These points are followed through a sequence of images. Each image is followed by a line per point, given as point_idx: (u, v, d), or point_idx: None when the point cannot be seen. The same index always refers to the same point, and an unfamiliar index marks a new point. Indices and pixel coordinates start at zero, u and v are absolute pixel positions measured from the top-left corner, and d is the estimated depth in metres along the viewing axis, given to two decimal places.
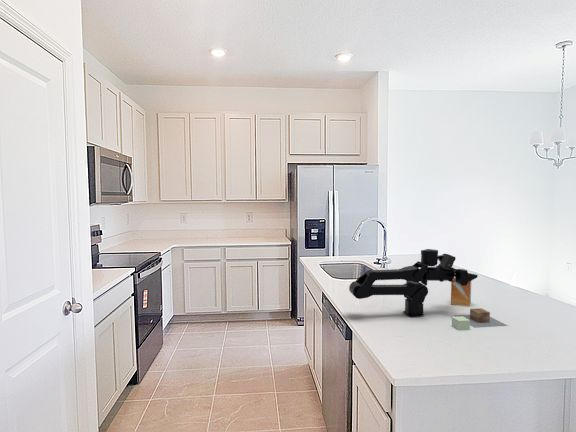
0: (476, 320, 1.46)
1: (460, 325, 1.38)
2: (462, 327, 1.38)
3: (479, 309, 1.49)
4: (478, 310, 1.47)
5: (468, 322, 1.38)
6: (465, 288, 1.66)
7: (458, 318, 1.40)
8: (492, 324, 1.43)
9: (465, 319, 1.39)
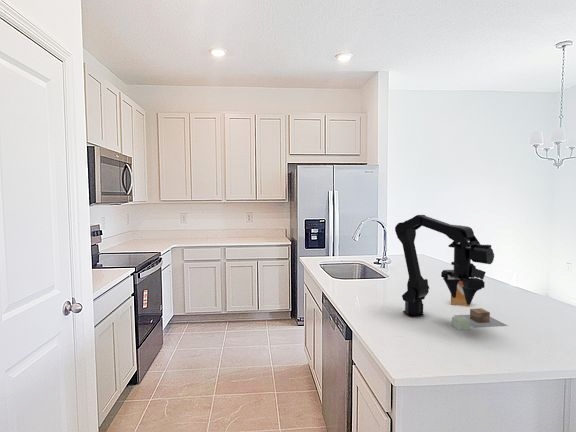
0: (476, 320, 1.46)
1: (460, 325, 1.38)
2: (462, 327, 1.38)
3: (479, 309, 1.49)
4: (478, 310, 1.47)
5: (468, 322, 1.38)
6: None
7: (458, 318, 1.40)
8: (492, 324, 1.43)
9: (465, 319, 1.39)
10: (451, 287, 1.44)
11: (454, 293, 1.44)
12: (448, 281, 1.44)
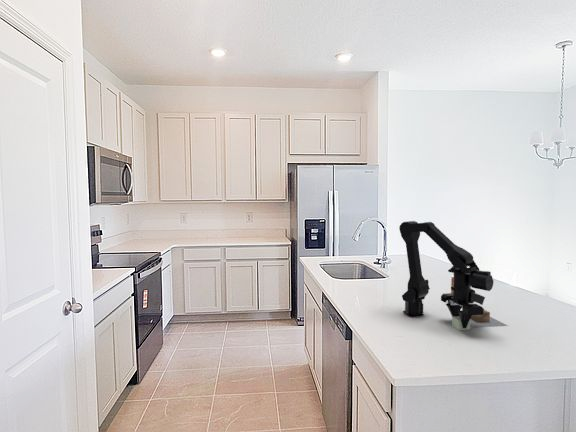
0: (476, 320, 1.46)
1: (460, 324, 1.38)
2: (462, 327, 1.38)
3: None
4: None
5: None
6: None
7: (458, 318, 1.40)
8: (492, 324, 1.43)
9: None
10: (454, 313, 1.42)
11: None
12: (451, 307, 1.42)
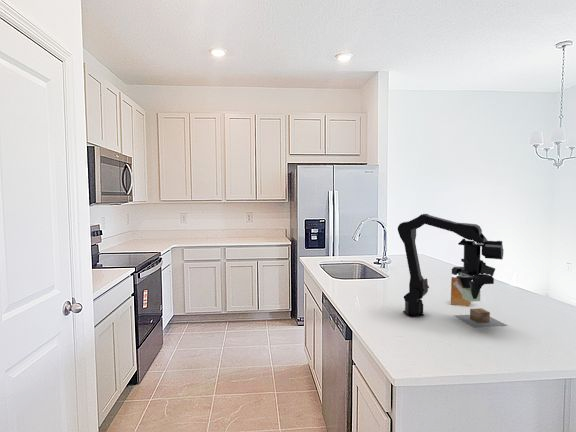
0: (476, 320, 1.46)
1: (470, 295, 1.40)
2: (472, 297, 1.40)
3: (479, 309, 1.49)
4: (478, 310, 1.47)
5: (479, 293, 1.41)
6: None
7: (468, 289, 1.43)
8: (492, 324, 1.43)
9: None
10: (465, 285, 1.45)
11: None
12: (461, 279, 1.45)
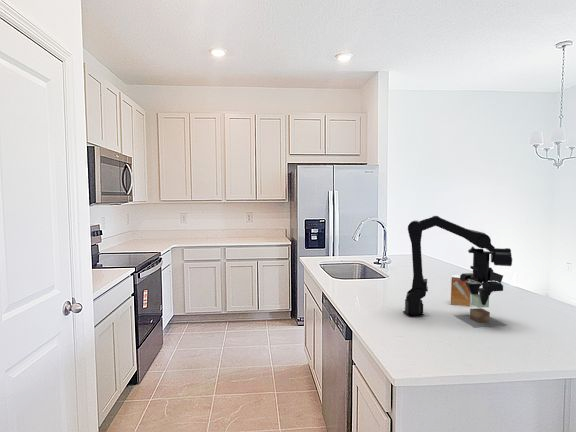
0: (476, 320, 1.46)
1: (479, 301, 1.45)
2: (481, 303, 1.45)
3: (479, 309, 1.49)
4: (478, 310, 1.47)
5: None
6: (465, 288, 1.66)
7: (477, 295, 1.47)
8: (492, 324, 1.43)
9: None
10: (473, 292, 1.49)
11: None
12: (470, 285, 1.49)
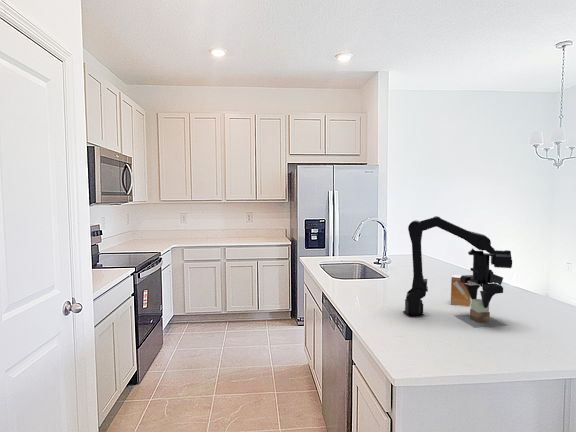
0: (476, 320, 1.46)
1: (479, 306, 1.45)
2: (481, 308, 1.45)
3: None
4: None
5: None
6: (465, 288, 1.66)
7: (477, 300, 1.47)
8: (492, 324, 1.43)
9: None
10: (472, 293, 1.50)
11: (474, 298, 1.50)
12: (469, 287, 1.50)
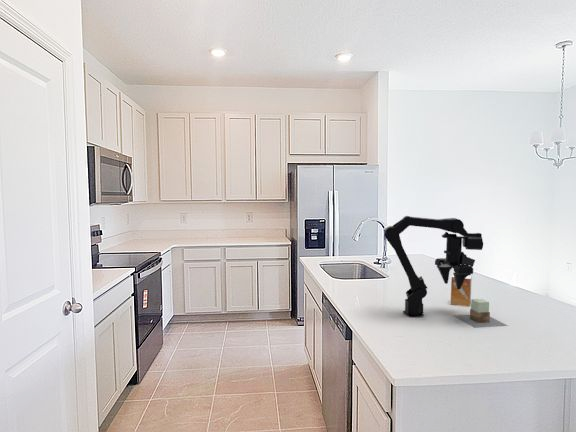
0: (476, 320, 1.46)
1: (479, 306, 1.45)
2: (481, 308, 1.45)
3: None
4: None
5: (487, 304, 1.45)
6: (465, 288, 1.66)
7: (477, 300, 1.47)
8: (492, 324, 1.43)
9: (484, 301, 1.46)
10: (444, 274, 1.57)
11: (446, 279, 1.57)
12: (441, 268, 1.57)
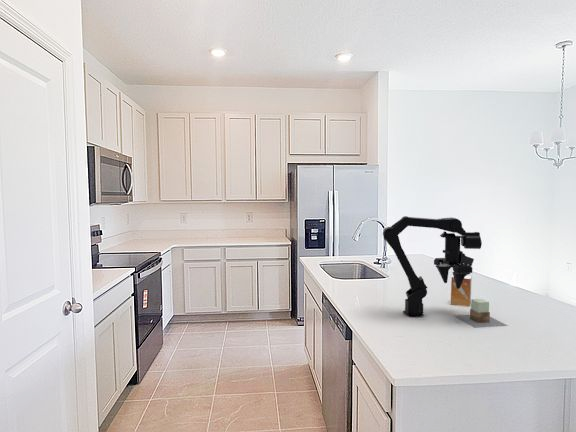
0: (476, 320, 1.46)
1: (479, 306, 1.45)
2: (481, 308, 1.45)
3: None
4: None
5: (487, 304, 1.45)
6: (465, 288, 1.66)
7: (477, 300, 1.47)
8: (492, 324, 1.43)
9: (484, 301, 1.46)
10: (443, 274, 1.57)
11: (445, 279, 1.57)
12: (440, 268, 1.57)
